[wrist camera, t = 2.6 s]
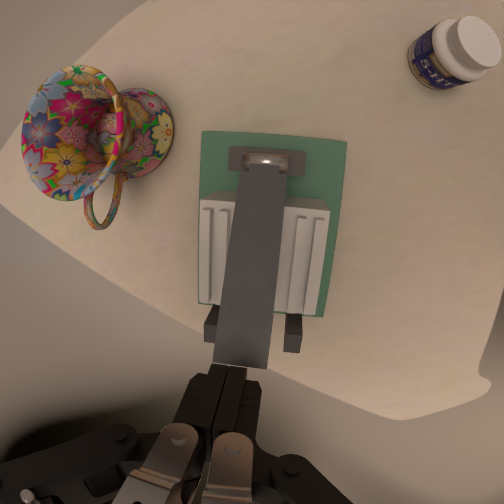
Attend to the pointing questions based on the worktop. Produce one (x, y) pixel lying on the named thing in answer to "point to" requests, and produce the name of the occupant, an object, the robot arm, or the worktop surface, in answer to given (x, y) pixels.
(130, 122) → the mug
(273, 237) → the strap
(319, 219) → the heatsink base
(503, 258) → the worktop surface
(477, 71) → the pill bottle
